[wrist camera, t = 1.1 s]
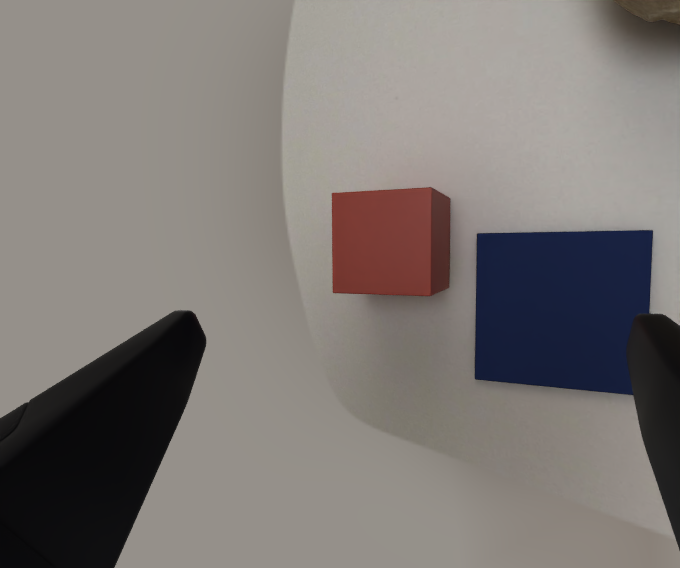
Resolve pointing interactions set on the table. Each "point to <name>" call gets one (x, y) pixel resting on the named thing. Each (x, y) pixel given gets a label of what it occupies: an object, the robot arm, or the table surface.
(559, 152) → the table surface
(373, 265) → the red block
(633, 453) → the table surface
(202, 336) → the robot arm
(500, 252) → the blue mat
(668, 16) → the sculpture
